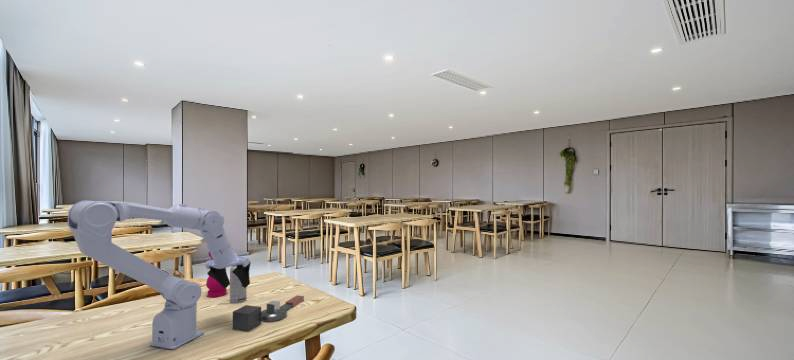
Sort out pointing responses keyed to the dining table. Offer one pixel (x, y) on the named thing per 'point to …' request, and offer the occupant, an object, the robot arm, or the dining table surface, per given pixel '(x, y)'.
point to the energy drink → (236, 288)
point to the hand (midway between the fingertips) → (237, 285)
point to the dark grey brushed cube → (246, 318)
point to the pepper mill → (214, 286)
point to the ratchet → (279, 309)
